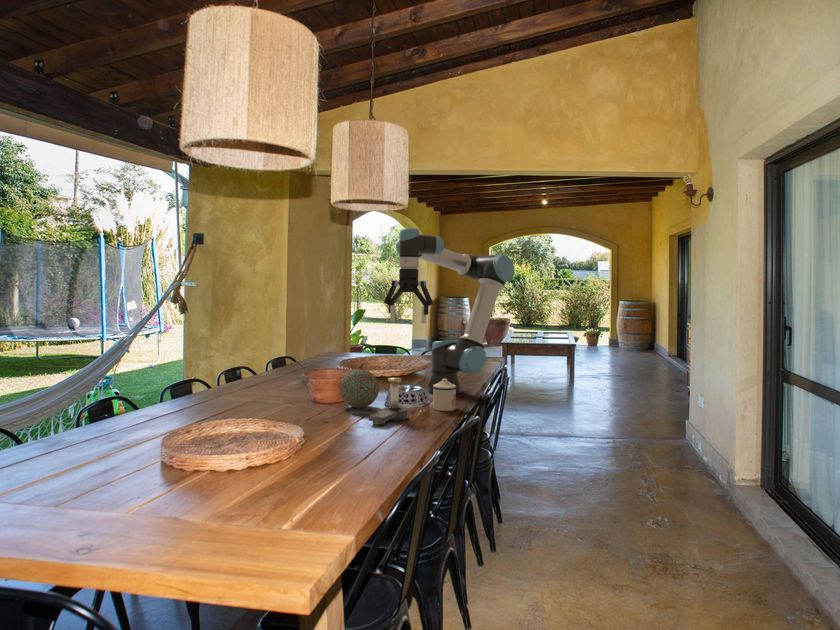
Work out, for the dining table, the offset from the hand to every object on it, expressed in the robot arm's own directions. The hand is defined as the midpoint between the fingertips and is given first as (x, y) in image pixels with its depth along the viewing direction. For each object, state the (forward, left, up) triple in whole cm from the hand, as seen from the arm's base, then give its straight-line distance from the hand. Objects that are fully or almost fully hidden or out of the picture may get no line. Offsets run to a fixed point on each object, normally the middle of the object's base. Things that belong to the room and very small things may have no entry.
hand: (408, 322), depth 233 cm
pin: (+22, +6, -33) cm, 40 cm away
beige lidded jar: (-2, +15, -33) cm, 36 cm away
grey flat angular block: (+27, 0, -33) cm, 42 cm away
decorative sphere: (+13, -14, -33) cm, 38 cm away
